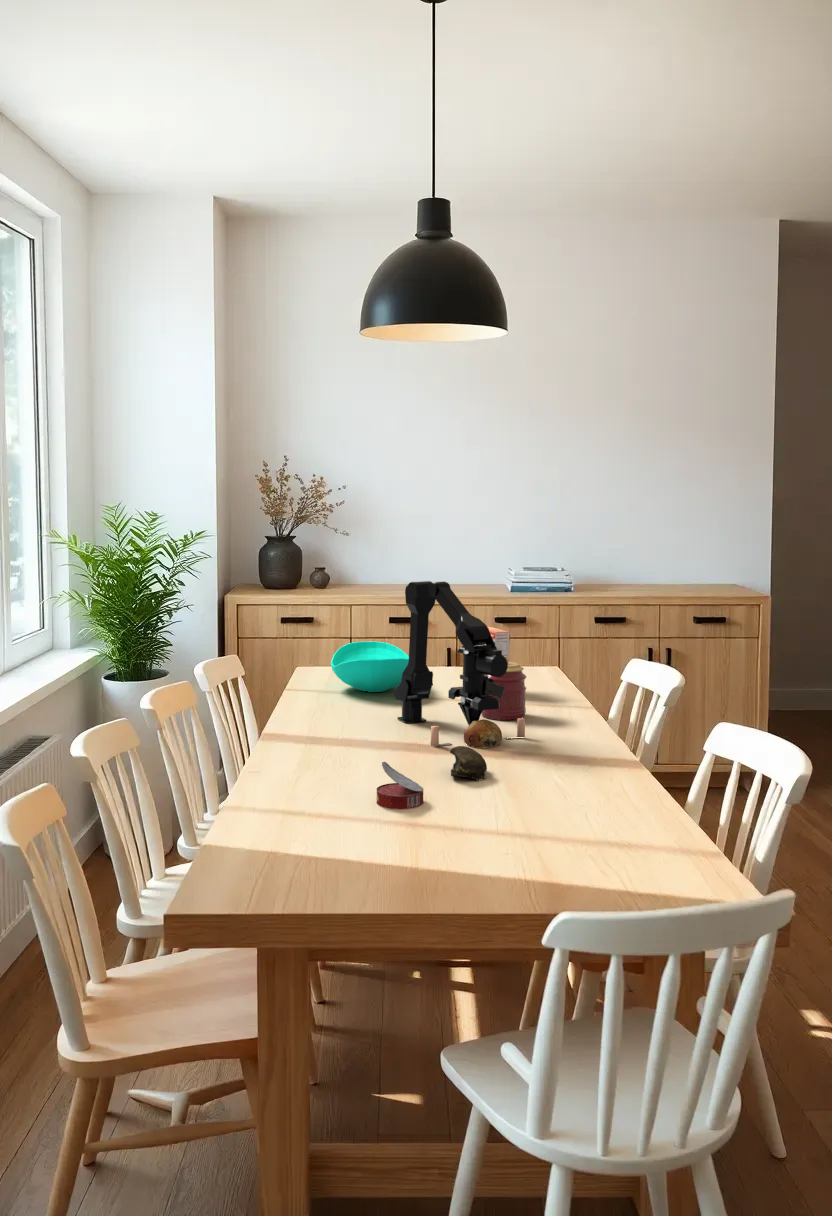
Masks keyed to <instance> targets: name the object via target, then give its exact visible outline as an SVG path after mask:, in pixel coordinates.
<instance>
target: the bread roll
mask: <svg viewBox="0 0 832 1216" xmlns="http://www.w3.org/2000/svg"><path fill="white" fill-rule="evenodd" d="M463 742H464V744H465V743H466V744H467V745H466V744H465V745H466V746H468V745H469V746H468V747H471V746H474V747H473V748H477V747H489V748H495V747H498V746H500V745H501V743H502V742H503V733H502V729H501V728H500V727H499V725H498V724H497V723H495V722H493V721H491V720H490V719H486V718H485V719H483V718H482V719H479V720H478V721H472V723H471V724H470V725H468V726H467V727H466V728H465V729H464V731H463ZM497 745H498V746H497ZM494 746H495V747H494Z"/></svg>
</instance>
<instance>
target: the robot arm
mask: <svg viewBox="0 0 832 1216" xmlns="http://www.w3.org/2000/svg"><path fill="white" fill-rule="evenodd" d="M404 596H405V605H406V606H407V608H408V610H409V611H410V622H409V623H410V624H409V625H410V627H409V648H408V656H409V662H408V665H407V667H406V668H405V670H404V671H403V673H402V679H401V683H400V685H398V686H396V689H394V692H393V693H394V699H395V700H396V701H397V700H398V701H400V702H401V716H397V720H398V721H401V722H402V721H403V723H404V724H411V723H423V722H424V723H425V722H427V719H426V718H424V717H423V700H424V699H425V700H428V699H429V698H430V694H431V691H432V686H434V683H433V681H434V680H433V678H434V673H433V672H434V671H431V670H430V669H429V667H428V665H427V659H428V658H427V656H428V640H429V639H428V635H429V634H428V633H429V620H430V619H429V616H430V613H431V611H432V609H433V608H434V606H435V605H436V602H437V603H438V605H439V606H440V607H441V609H442V610H443V611H444V613H445V614H446V615H447V617H448V618H449V619H450V621H451V622H452V623H453V625H454V627H455V635H456V636H457V638H458V641H459V642H460V644H461V645H462V646H461V647H460V648H459V649H458V650H457V653H458V654H462V674H459V679H460V680H462V686H453V687H450V688H449V690H448V698H449V699H451V700H456V698H460V701H459V702H457V705H458V706H459V708H460V709H461V711H462V714H463V715H464V719H465V720H466V722H467V724H468V726H469V725H470V724H471V723H472V721H478V720H480V717H481V716H482V711H483V710H491V709H499V708H500V701H499V700H498V699H497V698H495V697H493V696H489V694H491V695H494V696H496V697H497V696H498V697H499V698H502V696H503V693H504V690H505V687H503V686H500V685H498V684H495V683H494V679H491V678H488V676H485V675H490V676H494V677H501V676H503V675H504V674H505V673H506V671H507V668H508V663H507V660H506V658H505V657H504V656H503V655H502V651H501V650H497V648H496V646H495V642H494V641H493V639H492V636H491V634H490V632H489V629H488V627H487V626H488V625H486V623H485V622H483V621H482V620H481V619H480V618H478V617H476V616H474V615H472V614H471V613H470V612H469V611H468V609H467V608H466V607H465V606H464V604H463V603H462V601H460V599H459V597H457V595H456V594H455V592H454V591H453V590H452V588H451V585H450V583H449V582H446V581H431V580H427V581H426V580H424V581H423V580H422V581H411V582H409V583H407V585H406V586H405V590H404ZM485 644H486V645H485ZM478 645H480V646H478Z"/></svg>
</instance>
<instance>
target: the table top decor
mask: <svg viewBox="0 0 832 1216" xmlns="http://www.w3.org/2000/svg"><path fill="white" fill-rule="evenodd" d="M408 662H409V654H407V653H406V652H405V651H403V649H401V648H399V647H398V646H396V645H393V644H392V643H388V642H382V641H355V642H349V643H346V644H344V645H342V646H340V647H339V648H338V649H337V650H336V651H335V652H334V654H333V656H332V658H331V661H330V665H331V669H332V672H333V674H334V675H335V676H336V677H337V678H338V679H339V680H340V681H341V682H343V683H344V684H346V685H348V686H350V687H352V688H354V689H355V690H359V691H363V692H365V691H368V692H367V693H376V692H377V693H379V692H380V693H382V692H385V691H387V690H390V689H393V688H397V687H398V686H399V685H400V683H401V679H402V673H403V671H404V670H405V668H406V667H407V665H408Z"/></svg>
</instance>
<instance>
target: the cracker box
mask: <svg viewBox="0 0 832 1216" xmlns="http://www.w3.org/2000/svg"><path fill="white" fill-rule="evenodd" d="M486 626H487V627H488V629H489V632H490V634H491V636H492V639H493V641H494V642H495V646H496V648H497V650H501V651H502V655H503V656H507V657H508V659H509V660H510V658H511V657H510V651H511V650H510V649H511V648H510V646H511V643H510V642H511V639H510V637H511V632H510V631H508V630H504V629H500V628H496V627H493V626H488V625H486ZM485 645H486V644H485ZM478 646H480V645H478Z"/></svg>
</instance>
